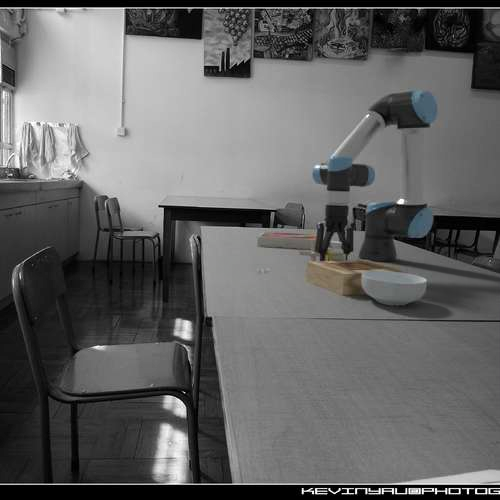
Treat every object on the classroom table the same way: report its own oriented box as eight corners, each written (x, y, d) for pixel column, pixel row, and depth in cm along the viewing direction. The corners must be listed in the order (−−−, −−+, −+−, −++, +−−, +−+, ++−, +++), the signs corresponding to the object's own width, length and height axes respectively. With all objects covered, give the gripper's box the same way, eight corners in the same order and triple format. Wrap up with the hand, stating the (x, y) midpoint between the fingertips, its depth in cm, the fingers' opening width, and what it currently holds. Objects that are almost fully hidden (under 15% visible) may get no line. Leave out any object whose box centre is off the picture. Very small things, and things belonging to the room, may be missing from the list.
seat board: (365, 277, 169) (366, 259, 168) (405, 291, 151) (407, 270, 150) (306, 280, 160) (307, 261, 159) (342, 295, 142) (343, 273, 141)
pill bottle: (321, 272, 175) (323, 240, 173) (339, 273, 176) (341, 240, 174) (325, 276, 169) (327, 242, 167) (344, 276, 169) (346, 243, 168)
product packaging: (264, 241, 255) (264, 231, 254) (321, 245, 250) (322, 235, 249) (257, 247, 234) (257, 236, 233) (319, 251, 229) (320, 240, 228)
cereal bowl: (415, 314, 125) (418, 286, 124) (350, 303, 134) (352, 276, 133) (431, 301, 140) (434, 275, 139) (372, 292, 148) (373, 267, 147)
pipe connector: (326, 271, 178) (328, 242, 177) (297, 268, 180) (299, 240, 179) (327, 266, 188) (329, 239, 186) (300, 264, 190) (302, 237, 188)
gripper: (355, 203, 176) (350, 270, 179) (306, 203, 168) (302, 272, 172) (368, 205, 169) (363, 274, 173) (317, 204, 162) (313, 276, 165)
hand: (332, 273), depth 172 cm, fingers closed on pill bottle, 6 cm apart
